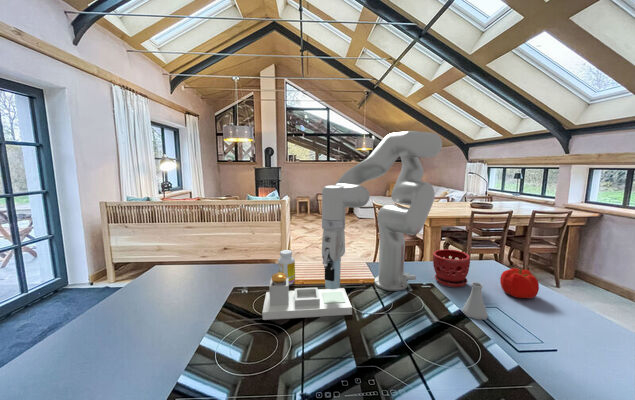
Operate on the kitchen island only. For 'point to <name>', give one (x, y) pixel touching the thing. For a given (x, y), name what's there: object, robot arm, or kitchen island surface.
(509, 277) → the tomato
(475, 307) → the flask
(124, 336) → the kitchen island surface
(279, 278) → the plunger
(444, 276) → the plant pot
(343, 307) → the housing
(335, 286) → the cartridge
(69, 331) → the kitchen island surface
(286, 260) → the supplement bottle
